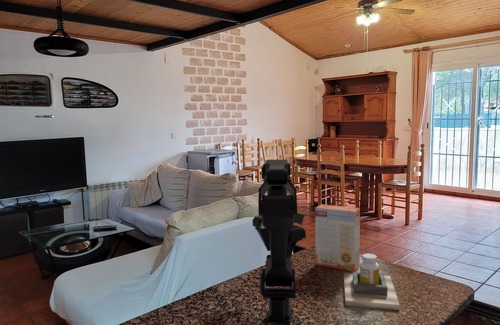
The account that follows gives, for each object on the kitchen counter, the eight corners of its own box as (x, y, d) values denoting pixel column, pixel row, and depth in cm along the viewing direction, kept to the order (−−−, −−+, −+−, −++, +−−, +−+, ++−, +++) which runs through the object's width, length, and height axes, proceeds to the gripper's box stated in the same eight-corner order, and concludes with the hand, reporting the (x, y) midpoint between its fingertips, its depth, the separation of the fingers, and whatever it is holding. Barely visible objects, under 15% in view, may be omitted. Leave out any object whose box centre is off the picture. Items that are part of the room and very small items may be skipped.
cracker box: (360, 266, 128) (360, 207, 125) (354, 273, 123) (355, 211, 120) (321, 259, 135) (321, 203, 132) (315, 265, 130) (314, 206, 127)
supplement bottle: (376, 283, 112) (376, 252, 110) (380, 291, 106) (381, 259, 105) (357, 283, 112) (358, 252, 111) (361, 291, 107) (361, 259, 106)
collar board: (399, 310, 99) (399, 295, 99) (345, 305, 102) (345, 291, 102) (389, 280, 117) (390, 268, 116) (343, 277, 120) (344, 265, 119)
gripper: (321, 205, 102) (321, 259, 104) (280, 193, 118) (281, 241, 120) (288, 211, 97) (289, 268, 99) (250, 198, 112) (252, 248, 114)
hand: (278, 255), depth 108 cm, fingers open, 9 cm apart
